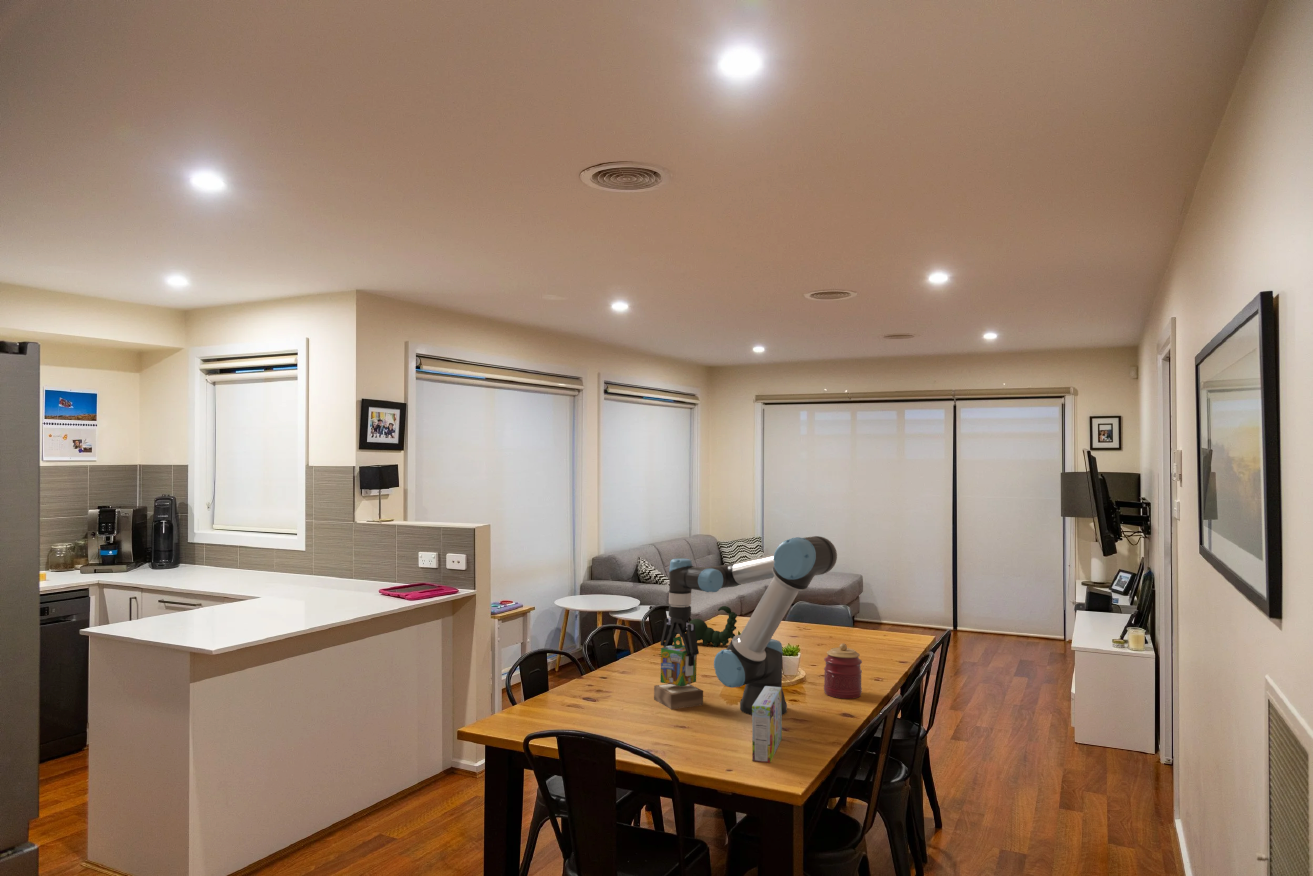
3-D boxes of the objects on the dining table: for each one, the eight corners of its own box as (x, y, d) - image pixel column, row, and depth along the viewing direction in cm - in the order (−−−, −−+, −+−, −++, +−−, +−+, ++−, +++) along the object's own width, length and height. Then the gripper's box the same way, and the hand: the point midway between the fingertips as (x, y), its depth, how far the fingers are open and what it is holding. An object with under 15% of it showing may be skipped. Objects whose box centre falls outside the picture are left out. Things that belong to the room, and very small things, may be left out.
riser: (702, 706, 271) (703, 690, 272) (671, 710, 266) (671, 694, 266) (685, 696, 282) (685, 681, 282) (654, 700, 277) (654, 685, 277)
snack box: (763, 737, 240) (764, 685, 241) (782, 739, 239) (783, 686, 239) (750, 761, 220) (751, 704, 221) (771, 764, 219) (772, 706, 219)
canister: (832, 687, 297) (833, 638, 297) (867, 693, 289) (867, 643, 290) (817, 695, 286) (818, 644, 287) (853, 701, 279) (853, 649, 279)
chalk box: (682, 687, 268) (683, 642, 268) (659, 682, 273) (660, 638, 274) (697, 681, 275) (698, 637, 276) (674, 677, 281) (675, 633, 281)
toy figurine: (735, 649, 364) (681, 639, 372) (740, 606, 364) (686, 597, 372) (730, 653, 355) (675, 643, 363) (735, 609, 355) (680, 600, 363)
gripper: (710, 609, 268) (709, 677, 267) (668, 599, 287) (667, 663, 286) (692, 611, 264) (691, 681, 263) (650, 601, 282) (649, 666, 282)
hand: (678, 671), depth 274 cm, fingers closed on chalk box, 10 cm apart
